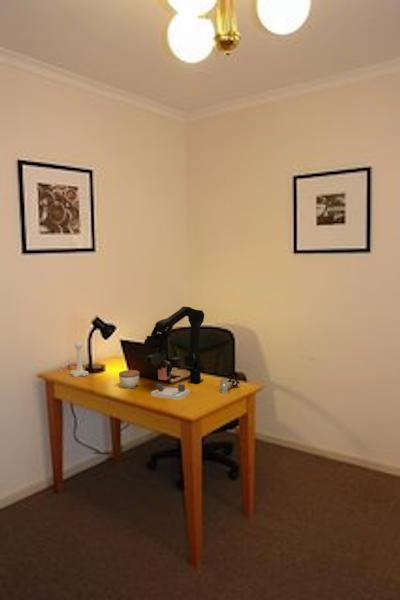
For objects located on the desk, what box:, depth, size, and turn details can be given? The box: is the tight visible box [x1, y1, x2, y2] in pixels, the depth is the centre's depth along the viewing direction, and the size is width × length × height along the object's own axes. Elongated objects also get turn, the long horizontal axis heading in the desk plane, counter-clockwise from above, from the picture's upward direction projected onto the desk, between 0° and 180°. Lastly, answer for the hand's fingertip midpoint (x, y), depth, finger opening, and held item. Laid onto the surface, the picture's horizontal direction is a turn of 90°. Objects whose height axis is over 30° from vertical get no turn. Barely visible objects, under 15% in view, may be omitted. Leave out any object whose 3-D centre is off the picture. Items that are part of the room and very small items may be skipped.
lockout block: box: [157, 366, 171, 381], centre depth 236 cm, size 4×4×5 cm
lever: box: [177, 383, 186, 391], centre depth 232 cm, size 2×3×3 cm, turn 63°
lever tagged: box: [155, 383, 164, 391], centre depth 233 cm, size 2×3×3 cm, turn 63°
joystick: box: [69, 340, 89, 378], centre depth 271 cm, size 11×8×20 cm
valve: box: [219, 375, 241, 394], centre depth 238 cm, size 7×7×12 cm
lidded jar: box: [118, 369, 140, 390], centre depth 247 cm, size 11×11×9 cm
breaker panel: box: [150, 385, 191, 401], centre depth 233 cm, size 11×16×3 cm
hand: (164, 376), depth 237 cm, fingers closed on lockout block, 4 cm apart
